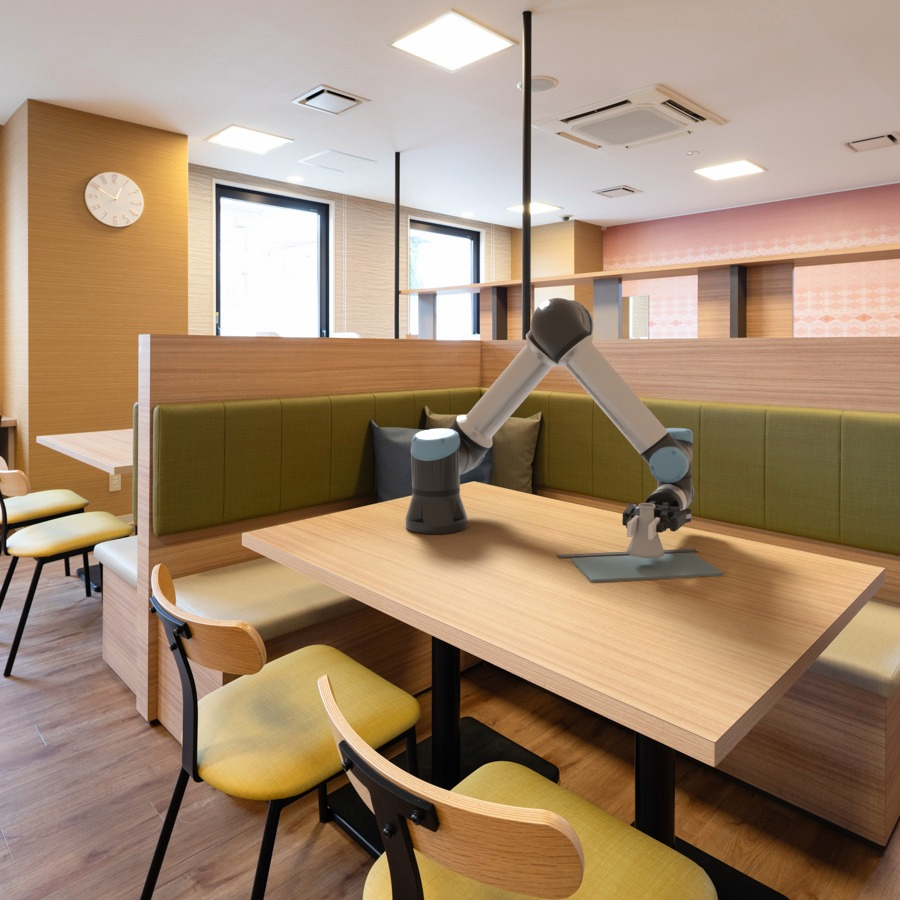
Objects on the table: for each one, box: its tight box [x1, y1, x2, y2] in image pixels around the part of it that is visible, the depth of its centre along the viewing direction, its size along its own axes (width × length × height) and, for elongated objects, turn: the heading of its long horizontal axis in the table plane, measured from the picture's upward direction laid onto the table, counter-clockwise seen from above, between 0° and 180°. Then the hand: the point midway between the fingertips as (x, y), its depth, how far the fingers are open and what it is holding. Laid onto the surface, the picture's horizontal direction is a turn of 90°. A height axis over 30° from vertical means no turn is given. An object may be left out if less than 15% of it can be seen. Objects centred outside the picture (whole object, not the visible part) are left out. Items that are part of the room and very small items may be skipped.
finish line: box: [556, 548, 699, 559], centre depth 142 cm, size 30×2×1 cm, turn 96°
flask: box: [626, 502, 665, 558], centre depth 132 cm, size 7×7×10 cm
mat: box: [570, 552, 725, 583], centre depth 133 cm, size 26×13×1 cm, turn 96°
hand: (639, 531), depth 127 cm, fingers closed on flask, 3 cm apart
